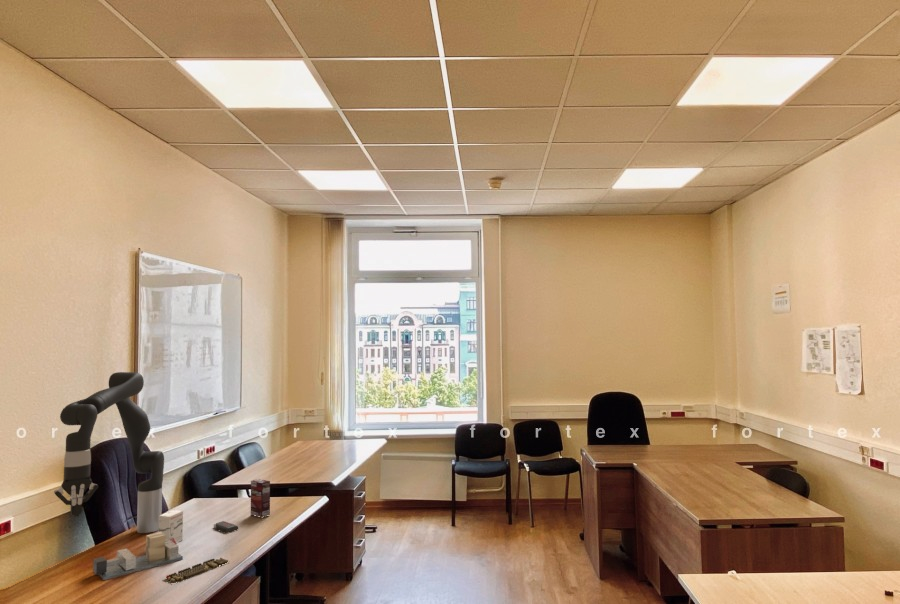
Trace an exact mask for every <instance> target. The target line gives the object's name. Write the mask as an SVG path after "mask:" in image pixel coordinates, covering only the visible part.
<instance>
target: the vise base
mask: <svg viewBox="0 0 900 604" xmlns="http://www.w3.org/2000/svg"><path fill="white" fill-rule="evenodd" d="M135 557H136V556H135ZM183 558H184V557H183V555H181V554H180V553H179V545H177V543H173V542H172V541H170V540H169V539H165V558H162V559H158V560H154V561H149V560H148V559H146V554H144V555H141V556H137V557H136V567H135V568H134V569H130V570H125V569H124V568H123V567H122V566H121V565H120V564H118V565H114V566H110V567H107V572H105V573H102V574H98V576H100V578H101V580H103V581H107V580H110V579H114V578H115V579H116V578H118V577H122V576H126V575H129V574H128V573H130V574H132V572H133V573H136V572H135V571H137V572H140V571H139V570H141V571H144V570H143V569H145V570H147V569H146V568H148V569H151V568H150V567H152V568H155V567H154V566H156V567H160V566H163V565H167V564H170V563H174V562H179V561H181V560H183ZM159 565H160V566H159ZM125 574H126V575H125Z"/></svg>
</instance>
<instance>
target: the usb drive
mask: <svg viewBox="0 0 900 604" xmlns="http://www.w3.org/2000/svg"><path fill="white" fill-rule="evenodd" d="M213 529H215V531H218V530H220V531H219V532H221V531H222V532H221V533H224V532H225V534H229V533H228V532H230V533H232V532H231V531H233V532H235V531H234V530H236V531H238V530H239V526H238V525H236V524H233V523H231V522H227V521H224V520H222V521H218V522H215V523H214V524H213ZM237 529H238V530H237Z"/></svg>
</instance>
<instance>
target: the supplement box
mask: <svg viewBox="0 0 900 604" xmlns="http://www.w3.org/2000/svg"><path fill="white" fill-rule="evenodd" d="M270 513H271V481H270V480H265V479H260V478H257V479H253V480H250V516H251V515H256V516H260V517H263V516H267V515H270V516H271V514H270Z"/></svg>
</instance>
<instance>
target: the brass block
mask: <svg viewBox="0 0 900 604" xmlns="http://www.w3.org/2000/svg"><path fill="white" fill-rule="evenodd" d="M145 539H146V540H145V555H146V559H148V560H149V561H154V560H158V559H162V558H165V534H163V533H162V532H160V533H159V532H155V533H150V534H148V535H147V534H146V537H145Z"/></svg>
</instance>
